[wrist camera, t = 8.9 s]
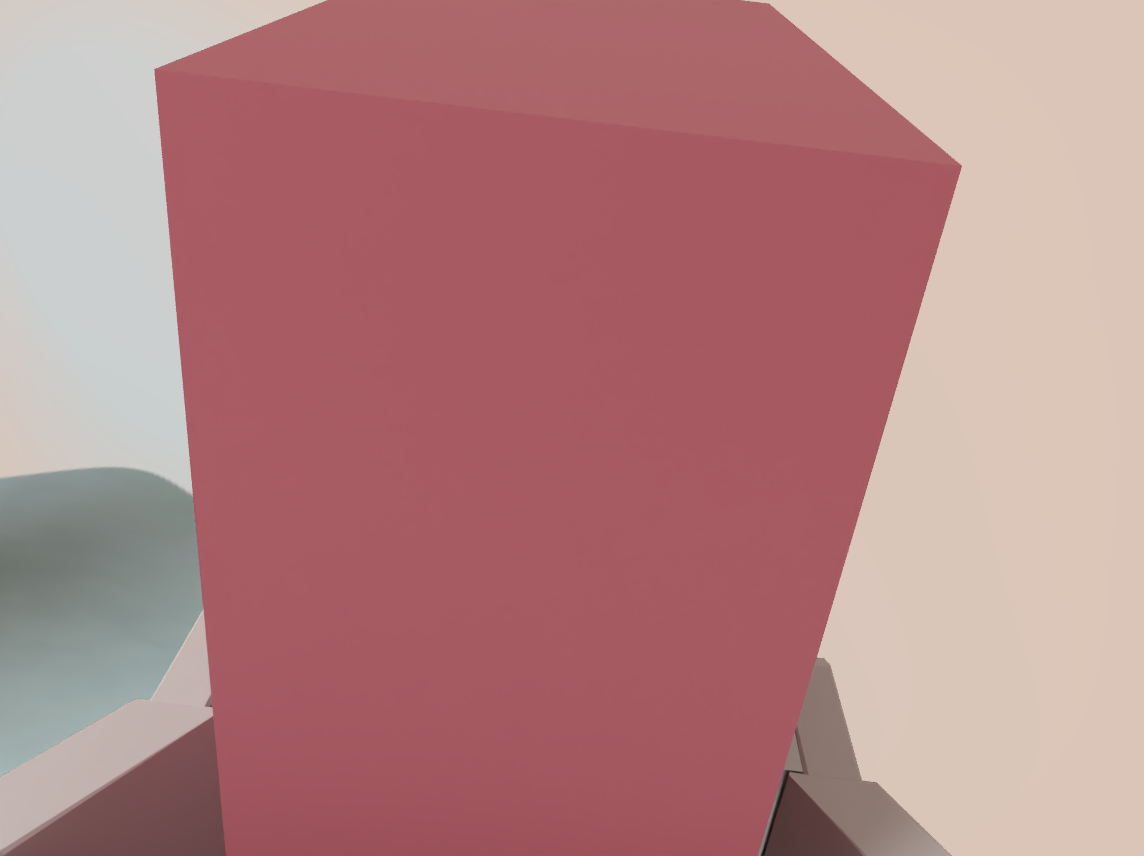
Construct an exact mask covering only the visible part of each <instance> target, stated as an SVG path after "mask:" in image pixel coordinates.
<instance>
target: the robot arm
mask: <svg viewBox="0 0 1144 856" xmlns="http://www.w3.org/2000/svg"><path fill="white" fill-rule="evenodd" d="M0 856H226V852H225V841H224V830H223V819H222V808H221V797H220V786H219V775H218V764H217V753H216V742H215V731H214V720H213V709H212V697H211V686H210V675H209V664H208V653H207V642H206V631H205V620H204V609H203V610H202V612H201V614H200V615H199V617H198V619H197V621H196V622H195V624H194V626H193V628H192V629H191V631H190V633H189V634H188V636H187V638H186V640H185V641H184V643H183V645H182V646H181V648H180V650H179V652H178V653H177V655H176V657H175V658H174V660H173V662H172V664H171V665H170V667H169V669H168V671H167V672H166V674H165V676H164V677H163V679H162V681H161V683H160V684H159V686H158V688H157V689H156V691H155V693H154V695H153V696H152V698H151V700H142V699H134V700H132V701H131V702H129V703H127V704H125V705H124V706H122V707H120V708H119V709H117V710H115V711H113V712H112V713H110V714H108V715H106V716H105V717H103V718H101V719H99V720H98V721H96V722H94V723H93V724H91V725H89V726H87V727H86V728H84V729H82V730H80V731H79V732H77V733H75V734H74V735H72V736H70V737H68V738H67V739H65V740H63V741H61V742H60V743H58V744H56V745H55V746H53V747H51V748H49V749H48V750H46V751H44V752H42V753H41V754H39V755H37V756H35V757H34V758H32V759H30V760H29V761H27V762H25V763H23V764H22V765H20V766H18V767H16V768H15V769H13V770H11V771H10V772H8V773H6V774H4V775H3V776H1V777H0ZM758 856H951V855H950V854H949V853H948V852H947V851H946V850H945V849H944V848H943V847H942V846H941V845H940V844H939V843H938V842H937V841H936V840H935V839H934V838H933V837H932V836H931V835H930V834H929V833H928V832H927V831H926V830H925V829H924V828H923V827H922V826H921V825H919V823H918V822H916V821H915V820H914V819H913V818H912V817H911V816H910V815H909V814H908V813H907V812H906V811H905V810H904V809H903V808H902V807H901V806H900V805H899V804H898V803H897V802H896V801H895V800H894V799H893V798H892V797H891V796H890V795H889V794H888V793H886V791H885V790H884V789H882V787H880V785H879V784H878V783H875V782H868V781H862V780H861V776H860V772H859V768H858V765H857V761H856V757H855V754H854V750H853V746H852V743H851V739H850V735H849V732H848V728H847V724H846V721H845V717H844V713H843V710H842V706H841V703H840V699H839V695H838V691H837V688H836V684H835V681H834V677H833V673H832V670H831V666H830V664H829V663H828V662H827V661H826V660H825V659H824V658H816V661H815V665H814V668H813V671H812V675H811V678H810V681H809V685H808V688H807V692H806V695H805V698H804V702H803V705H802V709H801V712H800V715H799V719H798V722H797V725H796V729H795V732H794V736H793V739H792V742H791V746H790V749H789V753H788V756H787V759H786V763H785V766H784V769H783V773H782V776H781V780H780V783H779V786H778V790H777V793H776V797H775V800H774V803H773V807H772V810H771V813H770V817H769V820H768V824H767V827H766V830H765V834H764V837H763V840H762V844H761V847H760V851H759V854H758Z"/></svg>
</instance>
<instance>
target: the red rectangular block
mask: <svg viewBox="0 0 1144 856" xmlns="http://www.w3.org/2000/svg"><path fill="white" fill-rule="evenodd" d="M155 81H156V92H157V103H158V114H159V125H160V136H161V147H162V158H163V169H164V180H165V190H166V202H167V213H168V224H169V235H170V246H171V257H172V268H173V279H174V290H175V301H176V312H177V323H178V334H179V344H180V356H181V367H182V378H183V389H184V400H185V410H186V422H187V433H188V444H189V455H190V466H191V477H192V488H193V499H194V510H195V521H196V532H197V543H198V554H199V565H200V576H201V587H202V598H203V609H204V620H205V631H206V642H207V653H208V664H209V675H210V686H211V697H212V709H213V720H214V731H215V742H216V753H217V764H218V775H219V786H220V797H221V808H222V819H223V830H224V841H225V852H226V856H758V854H759V851H760V847H761V844H762V840H763V837H764V834H765V830H766V827H767V824H768V820H769V817H770V813H771V810H772V807H773V803H774V800H775V797H776V793H777V790H778V786H779V783H780V780H781V776H782V773H783V769H784V766H785V763H786V759H787V756H788V753H789V749H790V746H791V742H792V739H793V736H794V732H795V729H796V725H797V722H798V719H799V715H800V712H801V709H802V705H803V702H804V698H805V695H806V692H807V688H808V685H809V681H810V678H811V675H812V671H813V668H814V665H815V661H816V658H817V654H818V651H819V647H820V644H821V641H822V637H823V634H824V630H825V627H826V624H827V620H828V617H829V614H830V610H831V607H832V604H833V600H834V597H835V594H836V590H837V587H838V583H839V579H840V577H841V573H842V570H843V566H844V563H845V560H846V556H847V553H848V550H849V546H850V543H851V539H852V536H853V533H854V529H855V526H856V522H857V519H858V516H859V512H860V509H861V506H862V502H863V499H864V495H865V492H866V489H867V485H868V482H869V478H870V475H871V472H872V468H873V465H874V462H875V458H876V455H877V451H878V448H879V444H880V441H881V438H882V435H883V431H884V427H885V424H886V421H887V418H888V414H889V411H890V407H891V404H892V401H893V397H894V394H895V390H896V387H897V384H898V380H899V377H900V374H901V370H902V366H903V363H904V360H905V357H906V353H907V350H908V346H909V343H910V340H911V336H912V333H913V330H914V326H915V323H916V319H917V316H918V313H919V309H920V306H921V302H922V299H923V296H924V292H925V289H926V286H927V282H928V279H929V275H930V272H931V269H932V265H933V262H934V259H935V255H936V252H937V248H938V245H939V242H940V238H941V235H942V232H943V228H944V225H945V221H946V218H947V215H948V211H949V208H950V204H951V201H952V198H953V194H954V191H955V188H956V184H957V181H958V177H959V174H960V171H961V167H962V166H961V165H960V164H959V163H958V162H956V161H955V160H954V159H953V158H952V157H951V156H949V155H948V154H947V153H946V152H945V151H944V150H942V149H941V148H940V147H939V146H938V145H936V144H935V143H934V142H933V141H932V140H930V139H929V138H928V137H927V136H926V135H924V134H923V133H922V132H921V131H920V130H918V129H917V128H916V127H915V126H914V125H912V124H911V123H910V122H909V121H908V120H907V119H905V118H904V117H903V116H902V115H901V114H899V113H898V112H897V111H896V110H895V109H894V108H892V107H891V106H890V105H889V104H888V103H886V102H885V101H884V100H883V99H882V98H880V97H879V96H878V95H877V94H876V93H875V92H873V91H872V90H871V89H870V88H869V87H867V86H866V85H865V84H864V83H863V82H861V81H860V80H859V79H858V78H856V77H855V76H854V75H853V74H852V73H851V72H850V71H848V70H847V69H846V68H845V67H844V66H842V65H841V64H840V63H839V62H838V61H836V60H835V59H834V58H833V57H832V56H830V55H829V54H828V53H827V52H826V51H825V50H823V49H822V48H821V47H820V46H819V45H817V44H816V43H815V42H814V41H813V40H811V39H810V38H809V37H808V36H807V35H806V34H804V33H803V32H802V31H801V30H800V29H798V28H797V27H796V26H795V25H794V24H792V23H791V22H790V21H789V20H788V19H786V18H785V17H784V16H783V15H782V14H780V13H779V12H778V11H777V10H776V9H775V8H773V7H772V6H771V5H770V4H767V3H759V2H750V1H742V0H327V1H324V2H322V3H319V4H317V5H315V6H312V7H309V8H307V9H304V10H302V11H299V12H297V13H294V14H292V15H289V16H287V17H284V18H282V19H279V20H277V21H274V22H272V23H269V24H267V25H264V26H262V27H259V28H257V29H254V30H252V31H249V32H247V33H244V34H242V35H239V36H237V37H234V38H232V39H229V40H227V41H224V42H222V43H219V44H217V45H214V46H212V47H209V48H207V49H204V50H202V51H199V52H197V53H194V54H192V55H189V56H187V57H184V58H181V59H179V60H176V61H174V62H172V63H169V64H167V65H164V66H162V67H159V68H156V69H155Z"/></svg>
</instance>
